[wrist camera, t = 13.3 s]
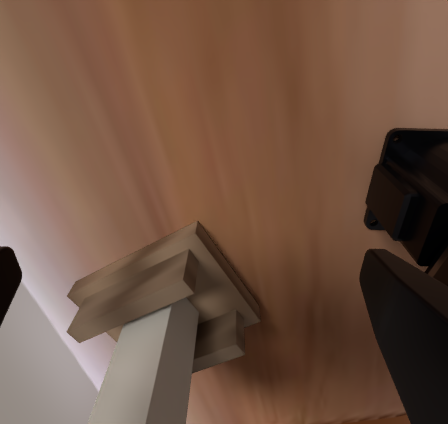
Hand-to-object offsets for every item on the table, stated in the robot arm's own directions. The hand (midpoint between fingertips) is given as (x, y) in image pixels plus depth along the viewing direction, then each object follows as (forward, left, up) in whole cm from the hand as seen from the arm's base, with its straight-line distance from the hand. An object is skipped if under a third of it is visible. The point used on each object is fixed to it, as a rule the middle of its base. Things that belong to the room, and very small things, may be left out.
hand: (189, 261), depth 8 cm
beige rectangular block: (+3, +13, -11) cm, 17 cm away
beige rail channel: (+3, +13, -12) cm, 18 cm away
